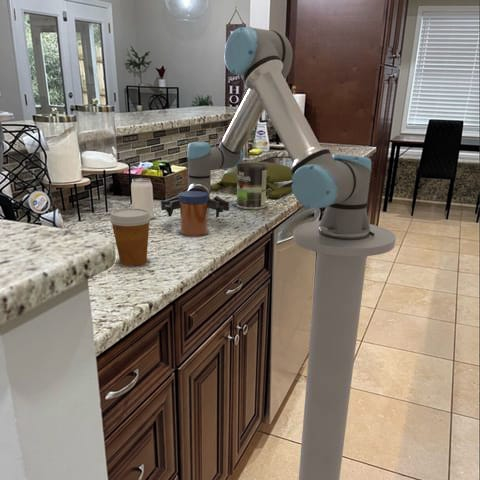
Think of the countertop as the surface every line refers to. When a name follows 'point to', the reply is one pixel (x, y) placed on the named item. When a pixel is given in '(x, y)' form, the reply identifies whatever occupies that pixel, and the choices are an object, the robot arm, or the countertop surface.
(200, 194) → the lid
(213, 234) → the countertop surface
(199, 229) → the jar
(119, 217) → the disposable coffee cup
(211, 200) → the robot arm
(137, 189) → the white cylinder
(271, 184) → the spaceship
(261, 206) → the coffee can
